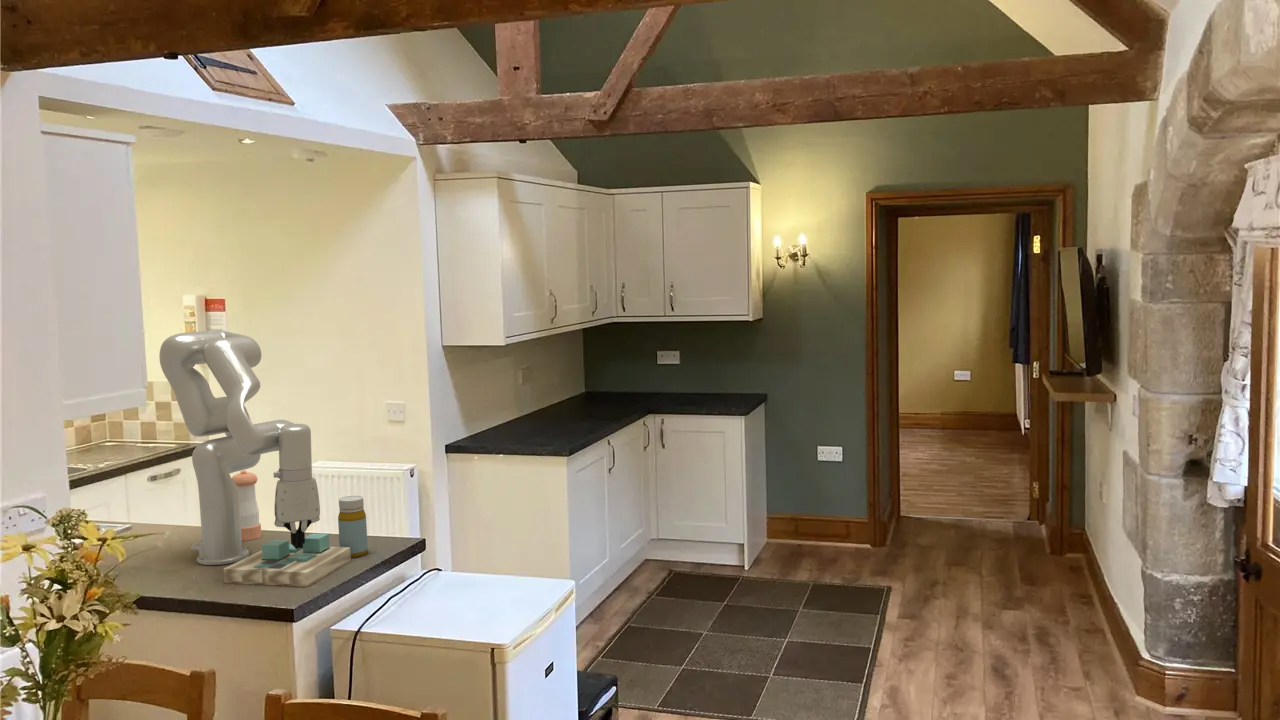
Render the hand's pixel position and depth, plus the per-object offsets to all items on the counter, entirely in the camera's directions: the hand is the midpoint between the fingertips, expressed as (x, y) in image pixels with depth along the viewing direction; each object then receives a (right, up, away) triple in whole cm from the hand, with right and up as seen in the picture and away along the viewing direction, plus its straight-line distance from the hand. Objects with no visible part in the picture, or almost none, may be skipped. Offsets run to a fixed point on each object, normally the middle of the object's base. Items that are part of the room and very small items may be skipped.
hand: (298, 546), depth 248 cm
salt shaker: (-26, -4, +34) cm, 43 cm away
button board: (-2, -6, +1) cm, 7 cm away
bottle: (+10, -5, +15) cm, 18 cm away
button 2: (-4, -5, +8) cm, 11 cm away
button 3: (+1, -6, 0) cm, 6 cm away
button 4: (+2, -2, +7) cm, 7 cm away
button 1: (-6, -3, +1) cm, 7 cm away
